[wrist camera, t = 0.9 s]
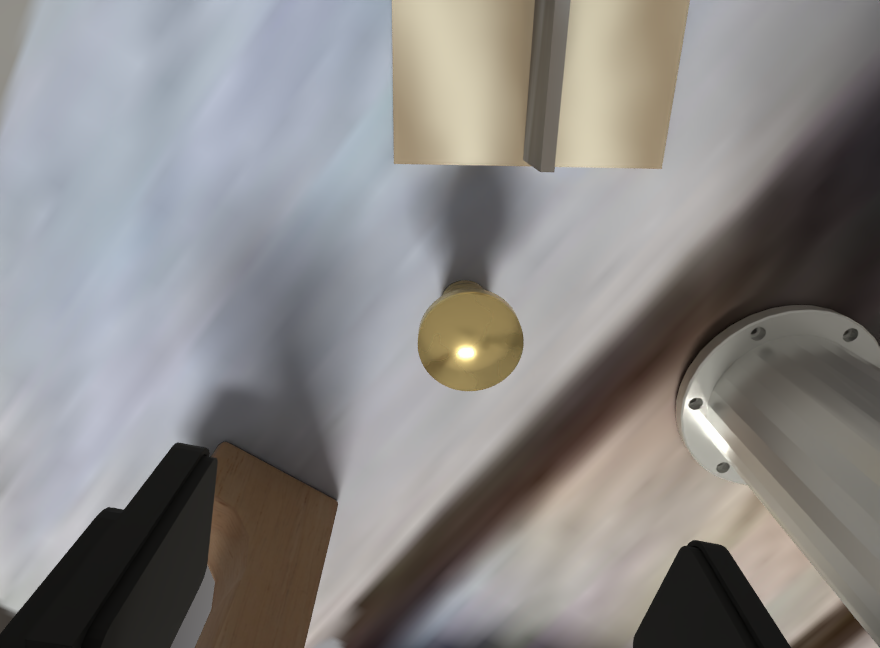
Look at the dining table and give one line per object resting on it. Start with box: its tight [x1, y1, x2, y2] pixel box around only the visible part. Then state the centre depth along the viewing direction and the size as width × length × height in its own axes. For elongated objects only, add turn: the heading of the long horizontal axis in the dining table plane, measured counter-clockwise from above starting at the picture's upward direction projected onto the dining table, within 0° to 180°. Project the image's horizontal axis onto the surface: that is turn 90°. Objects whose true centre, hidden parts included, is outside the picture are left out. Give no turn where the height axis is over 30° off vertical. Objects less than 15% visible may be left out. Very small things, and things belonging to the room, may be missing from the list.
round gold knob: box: [418, 280, 523, 391], centre depth 30 cm, size 5×5×6 cm
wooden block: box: [195, 442, 338, 648], centre depth 29 cm, size 9×4×18 cm, turn 54°
